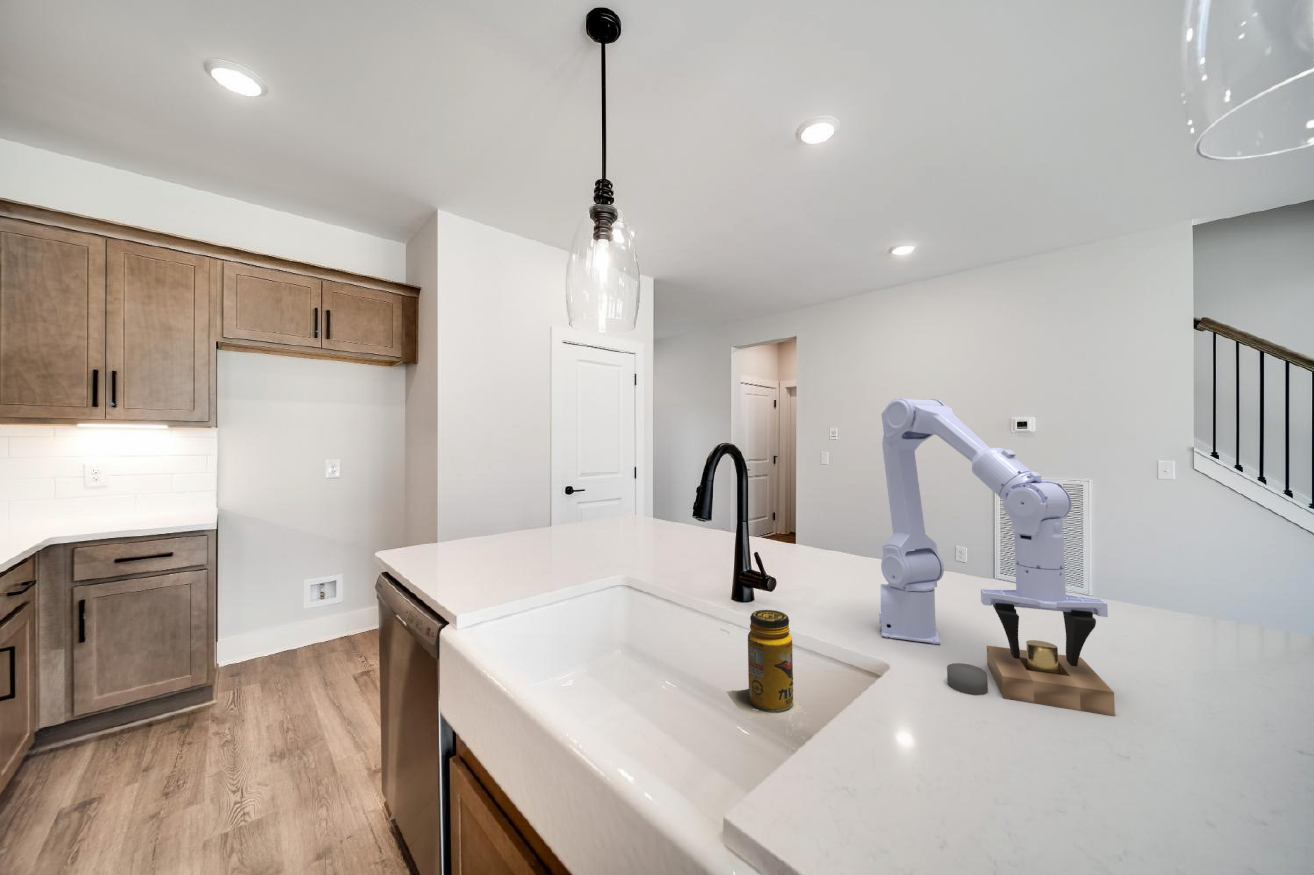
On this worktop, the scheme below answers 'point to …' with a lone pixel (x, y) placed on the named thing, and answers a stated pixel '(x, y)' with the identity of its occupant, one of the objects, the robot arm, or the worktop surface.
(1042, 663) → the brass cylinder plug
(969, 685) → the flat gray river rock
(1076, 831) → the worktop surface
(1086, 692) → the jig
